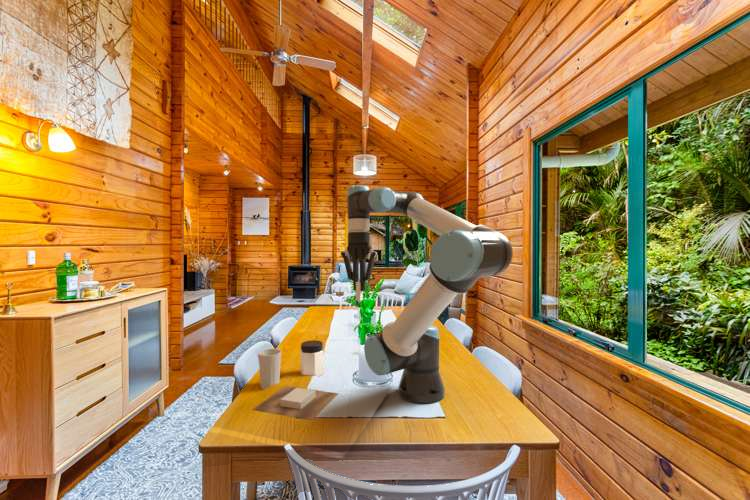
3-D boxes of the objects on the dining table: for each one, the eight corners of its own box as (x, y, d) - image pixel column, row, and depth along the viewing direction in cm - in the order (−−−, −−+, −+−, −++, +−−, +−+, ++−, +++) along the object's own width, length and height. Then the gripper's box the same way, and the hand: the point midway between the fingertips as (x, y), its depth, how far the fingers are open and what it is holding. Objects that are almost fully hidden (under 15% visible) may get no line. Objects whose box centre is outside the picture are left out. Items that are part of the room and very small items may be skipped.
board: (338, 397, 115) (338, 393, 115) (311, 424, 98) (311, 420, 98) (285, 389, 121) (285, 385, 121) (251, 413, 104) (251, 409, 104)
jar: (299, 372, 137) (298, 341, 137) (319, 368, 141) (319, 339, 140) (303, 380, 129) (303, 347, 129) (325, 376, 132) (325, 345, 132)
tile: (315, 390, 112) (296, 387, 115) (300, 402, 104) (280, 399, 106) (315, 396, 112) (296, 393, 115) (300, 409, 104) (280, 406, 106)
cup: (275, 391, 120) (274, 356, 120) (253, 389, 121) (253, 354, 121) (285, 382, 128) (285, 349, 127) (265, 380, 129) (265, 348, 129)
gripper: (380, 231, 122) (380, 299, 123) (345, 232, 126) (346, 297, 127) (373, 231, 115) (373, 303, 116) (336, 231, 119) (337, 301, 120)
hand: (359, 300), depth 121 cm, fingers closed
